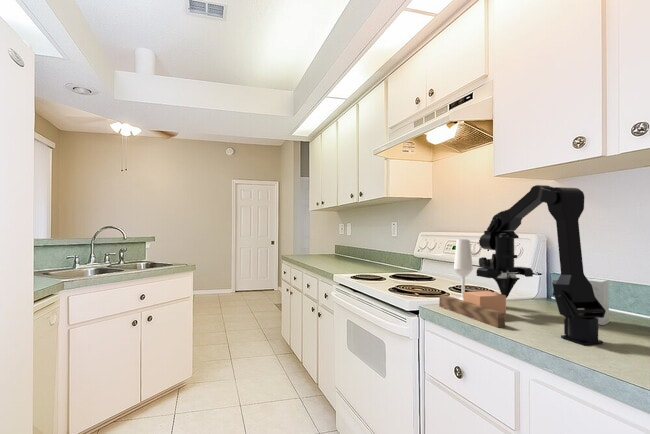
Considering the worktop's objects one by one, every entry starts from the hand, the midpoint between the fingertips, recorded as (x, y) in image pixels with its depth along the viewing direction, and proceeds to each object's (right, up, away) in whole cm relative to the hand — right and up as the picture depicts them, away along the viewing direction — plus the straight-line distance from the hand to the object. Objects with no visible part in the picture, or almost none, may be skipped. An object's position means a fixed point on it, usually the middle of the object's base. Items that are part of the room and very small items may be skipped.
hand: (504, 297), depth 120 cm
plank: (-14, -5, -4) cm, 15 cm away
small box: (+22, -5, -9) cm, 24 cm away
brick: (-8, -5, -2) cm, 10 cm away
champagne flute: (-8, -6, +16) cm, 19 cm away
